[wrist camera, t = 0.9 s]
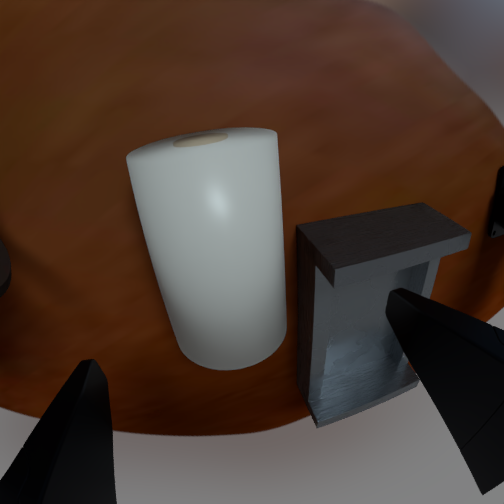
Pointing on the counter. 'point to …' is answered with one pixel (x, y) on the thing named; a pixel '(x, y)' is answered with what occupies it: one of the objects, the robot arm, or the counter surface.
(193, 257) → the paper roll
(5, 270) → the coffee mug
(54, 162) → the counter surface
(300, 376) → the cradle holder
